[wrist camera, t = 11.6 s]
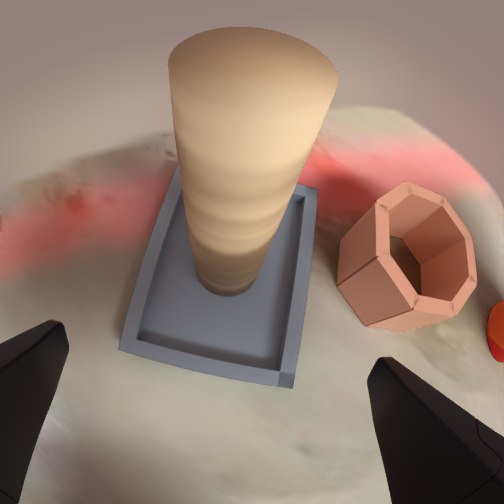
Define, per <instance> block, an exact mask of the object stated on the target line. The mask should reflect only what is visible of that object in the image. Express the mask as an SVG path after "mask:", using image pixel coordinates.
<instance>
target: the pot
mask: <svg viewBox="0 0 504 504" xmlns="http://www.w3.org/2000/svg"><path fill="white" fill-rule="evenodd" d="M389 235H391V236H394V237H398V238H401V239H402V240H403V242H404V243H405V244H406V246H407V247H408V248H409V250H410V251H411V253H412V254H413V255H414V257H415V258H416V260H417V261H418V263H419V264H420V266H421V295H418V294H417V293H416V291H415V290H414V288H413V287H412V285H411V284H410V282H409V281H408V279H407V278H406V276H405V275H404V274H403V272H402V271H401V269H400V268H399V266H398V265H397V264H396V262H395V261H394V259H393V258H392V257H391V255H390V240H389ZM470 236H471V234H470V233H469V231H468V230H467V228H466V227H465V225H464V224H463V222H462V221H461V219H460V218H459V217H458V215H457V214H456V212H455V211H454V210H453V208H452V207H451V205H450V204H449V203H448V201H447V200H446V199H445V197H444V198H443V196H441V195H439V194H437V193H434V192H432V191H430V190H427V189H425V188H422V187H420V186H417V185H415V184H412V183H410V182H407V181H406V182H405V181H404V182H403V183H401V184H400V185H398V186H397V187H396V188H394V189H393V190H391V191H390V192H388V193H387V194H385V195H384V196H382V197H381V198H379V199H378V200H376V201H375V202H374V204H373V205H372V206H371V207H370V208H369V209H368V210H367V211H366V212H365V214H364V215H363V216H362V217H361V218H360V219H359V220H358V221H357V222H356V223H355V224H354V226H353V227H352V228H351V229H350V230H349V231H348V232H347V233H346V234H345V235H344V236H343V237H342V238H341V240H340V243H339V258H338V271H337V283H336V285H339V286H337V288H338V289H339V290H340V292H341V293H342V295H343V296H344V297H345V299H346V300H347V302H348V303H349V304H350V306H351V307H352V309H353V310H354V312H355V313H356V314H357V316H358V317H359V319H360V320H361V322H362V323H363V324H364V325H366V327H373V328H379V329H386V330H394V331H401V332H405V331H408V330H412V329H416V328H419V327H423V326H426V325H430V324H433V323H437V322H440V321H443V320H446V319H450V318H453V317H455V316H456V315H457V314H458V313H459V311H460V310H461V308H462V307H463V305H464V304H465V302H466V301H467V299H468V298H469V296H470V295H471V293H472V292H473V290H474V289H475V287H476V285H477V284H476V283H477V273H476V264H475V255H474V248H473V241H472V237H470Z"/></svg>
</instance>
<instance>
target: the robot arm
mask: <svg viewBox="0 0 504 504" xmlns="http://www.w3.org/2000/svg"><path fill="white" fill-rule="evenodd" d="M68 352H69V343H68V339H67V336H66V332H65V328H64V325H63V324H62V323H61V322H59V321H55V320H48V321H46V322H44V323H42V324H40V325H38V326H36V327H34V328H31V329H29V330H27V331H25V332H23V333H21V334H19V335H17V336H15V337H13V338H11V339H9V340H7V341H5V342H3V343H1V344H0V504H18V503H19V500H20V496H21V492H22V488H23V484H24V480H25V477H26V473H27V470H28V467H29V463H30V460H31V457H32V454H33V451H34V448H35V445H36V442H37V439H38V436H39V434H40V431H41V428H42V425H43V423H44V420H45V418H46V415H47V412H48V410H49V407H50V405H51V402H52V400H53V397H54V395H55V392H56V389H57V386H58V383H59V379H60V376H61V373H62V370H63V367H64V364H65V361H66V358H67V355H68ZM367 386H368V391H369V397H370V404H371V410H372V416H373V423H374V428H375V432H376V436H377V440H378V444H379V448H380V452H381V456H382V460H383V464H384V469H385V473H386V477H387V482H388V487H389V491H390V496H391V501H392V504H504V437H503V436H501V435H500V434H498V433H497V432H495V431H494V430H492V429H491V428H489V427H488V426H486V425H485V424H483V423H482V422H481V421H479V420H478V419H475V417H474V416H472V415H471V414H470V413H468V412H467V411H465V410H464V409H463V408H461V407H460V406H459V405H457V404H456V403H454V402H453V401H452V400H450V399H449V398H447V397H446V396H445V395H443V394H442V393H441V392H439V391H438V390H436V389H435V388H434V387H432V386H431V385H430V384H428V383H427V382H425V381H424V380H423V379H421V378H420V377H418V376H417V375H416V374H414V373H413V372H412V371H410V370H409V369H407V368H406V367H405V366H403V365H402V364H401V363H399V362H398V361H396V360H395V359H394V358H392V357H380V358H379V359H377V361H376V363H375V365H374V367H373V369H372V370H371V372H370V374H369V376H368V380H367Z"/></svg>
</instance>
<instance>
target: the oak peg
mask: <svg viewBox="0 0 504 504" xmlns="http://www.w3.org/2000/svg"><path fill="white" fill-rule="evenodd" d="M168 68H169V81H170V93H171V103H172V113H173V122H174V131H175V139H176V148H177V156H178V163H179V171H180V178H181V185H182V191H183V198H184V205H185V211H186V217H187V223H188V229H189V235H190V241H191V247H192V252H193V258H194V263H195V268H196V273H197V277H198V279H199V281H200V283H201V284H202V285H203V287H204V288H205V289H207V290H208V291H209V292H211V293H213V294H215V295H218V296H223V297H232V296H237V295H240V294H242V293H244V292H245V291H247V290H248V289H249V288H250V287H251V286H252V285H253V283H254V281H255V280H256V277H257V275H258V273H259V271H260V268H261V266H262V264H263V261H264V259H265V257H266V254H267V252H268V250H269V248H270V245H271V243H272V241H273V238H274V236H275V234H276V231H277V229H278V227H279V224H280V222H281V220H282V217H283V215H284V213H285V210H286V208H287V206H288V203H289V201H290V199H291V196H292V194H293V192H294V189H295V187H296V184H297V182H298V180H299V177H300V175H301V173H302V170H303V168H304V165H305V163H306V161H307V158H308V156H309V153H310V151H311V149H312V146H313V144H314V141H315V139H316V137H317V134H318V132H319V129H320V127H321V125H322V122H323V120H324V117H325V115H326V112H327V110H328V108H329V105H330V103H331V100H332V98H333V95H334V93H335V90H336V88H337V85H338V74H337V71H336V69H335V67H334V65H333V64H332V63H331V61H330V60H329V59H328V58H327V57H326V56H325V55H324V54H323V53H322V52H320V51H319V50H317V49H316V48H315V47H313V46H312V45H310V44H308V43H306V42H304V41H302V40H300V39H297V38H295V37H293V36H290V35H287V34H284V33H281V32H277V31H272V30H267V29H262V28H252V27H227V28H220V29H214V30H209V31H205V32H202V33H199V34H196V35H194V36H191V37H190V38H188V39H186V40H184V41H183V42H181V43H180V44H179V45H177V46H176V47H175V48H174V50H173V51H172V53H171V54H170V57H169V60H168Z"/></svg>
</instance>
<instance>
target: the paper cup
mask: <svg viewBox="0 0 504 504" xmlns="http://www.w3.org/2000/svg"><path fill="white" fill-rule="evenodd" d="M487 339H488V345H489V348H490V351H491V354H492V356H493V357H494V358H495V359H496V360H497V361H498V362H504V300H502V301H501V302H499V303H497V304H496V305H494V306H493V308H492V309H491V311H490V314H489V317H488V323H487Z"/></svg>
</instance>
